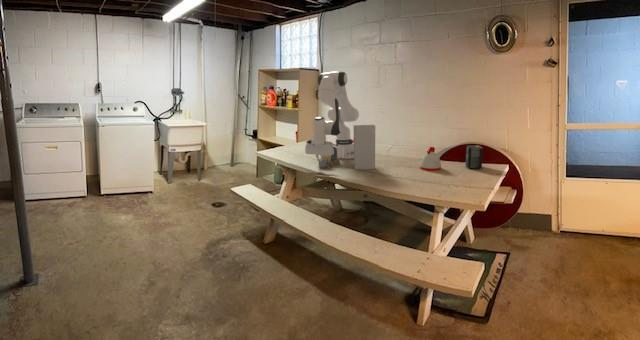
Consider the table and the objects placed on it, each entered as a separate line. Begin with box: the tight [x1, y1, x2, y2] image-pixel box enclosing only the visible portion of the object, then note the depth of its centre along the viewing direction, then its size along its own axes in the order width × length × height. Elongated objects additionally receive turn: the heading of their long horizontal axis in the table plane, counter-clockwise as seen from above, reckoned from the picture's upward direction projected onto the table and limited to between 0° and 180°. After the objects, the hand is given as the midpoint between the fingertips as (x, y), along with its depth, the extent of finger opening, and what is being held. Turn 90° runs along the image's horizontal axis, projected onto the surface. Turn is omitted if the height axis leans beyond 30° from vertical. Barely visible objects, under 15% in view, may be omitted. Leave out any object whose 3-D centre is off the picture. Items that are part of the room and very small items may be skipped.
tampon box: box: [465, 144, 484, 170], centre depth 284 cm, size 11×9×15 cm
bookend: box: [318, 158, 328, 169], centre depth 292 cm, size 3×6×6 cm, turn 65°
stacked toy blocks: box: [314, 146, 341, 169], centre depth 299 cm, size 21×10×13 cm, turn 155°
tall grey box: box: [353, 124, 376, 171], centre depth 287 cm, size 14×6×30 cm, turn 92°
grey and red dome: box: [419, 146, 442, 172], centre depth 284 cm, size 14×14×15 cm
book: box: [323, 155, 331, 163], centre depth 299 cm, size 4×6×12 cm, turn 65°
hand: (319, 161), depth 286 cm, fingers closed
